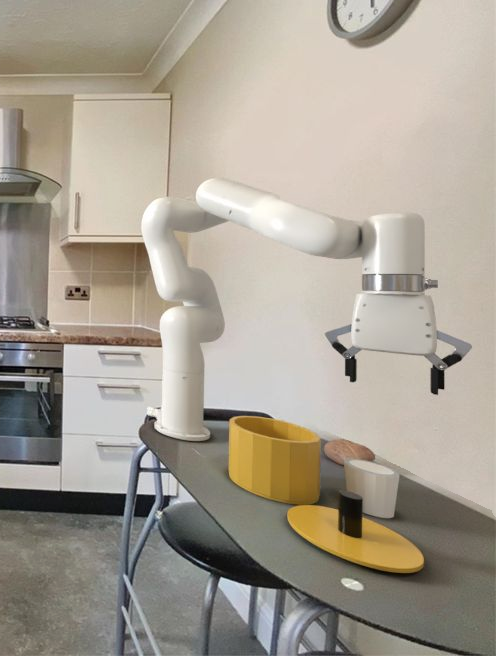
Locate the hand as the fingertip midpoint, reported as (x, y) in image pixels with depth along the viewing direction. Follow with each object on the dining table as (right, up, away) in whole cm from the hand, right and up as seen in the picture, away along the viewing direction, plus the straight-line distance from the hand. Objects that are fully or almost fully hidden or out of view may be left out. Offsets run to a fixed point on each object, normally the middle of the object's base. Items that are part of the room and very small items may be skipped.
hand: (391, 386), depth 68 cm
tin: (-15, -20, +7) cm, 26 cm away
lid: (-16, -19, -9) cm, 27 cm away
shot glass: (-4, -21, 0) cm, 21 cm away
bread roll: (+9, -22, +18) cm, 30 cm away
